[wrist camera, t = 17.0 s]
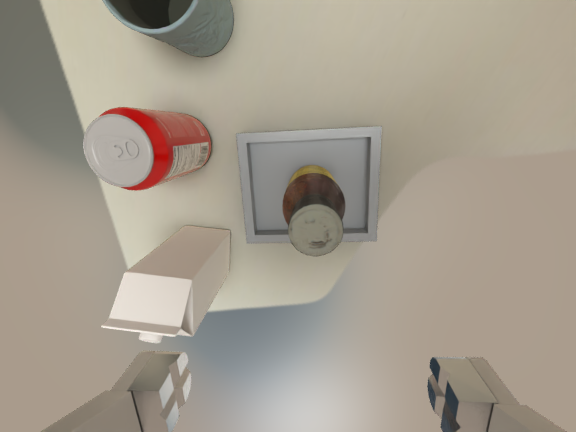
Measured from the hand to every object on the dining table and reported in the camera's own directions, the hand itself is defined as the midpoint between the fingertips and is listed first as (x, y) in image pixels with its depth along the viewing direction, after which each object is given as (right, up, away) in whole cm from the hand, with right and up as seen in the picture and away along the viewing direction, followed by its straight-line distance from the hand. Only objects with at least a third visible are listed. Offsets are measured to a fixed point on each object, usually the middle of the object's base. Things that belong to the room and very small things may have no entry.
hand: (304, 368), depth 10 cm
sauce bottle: (+3, +9, +30) cm, 32 cm away
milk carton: (-13, 0, +35) cm, 38 cm away
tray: (+2, +10, +31) cm, 32 cm away
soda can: (-15, +15, +31) cm, 37 cm away
